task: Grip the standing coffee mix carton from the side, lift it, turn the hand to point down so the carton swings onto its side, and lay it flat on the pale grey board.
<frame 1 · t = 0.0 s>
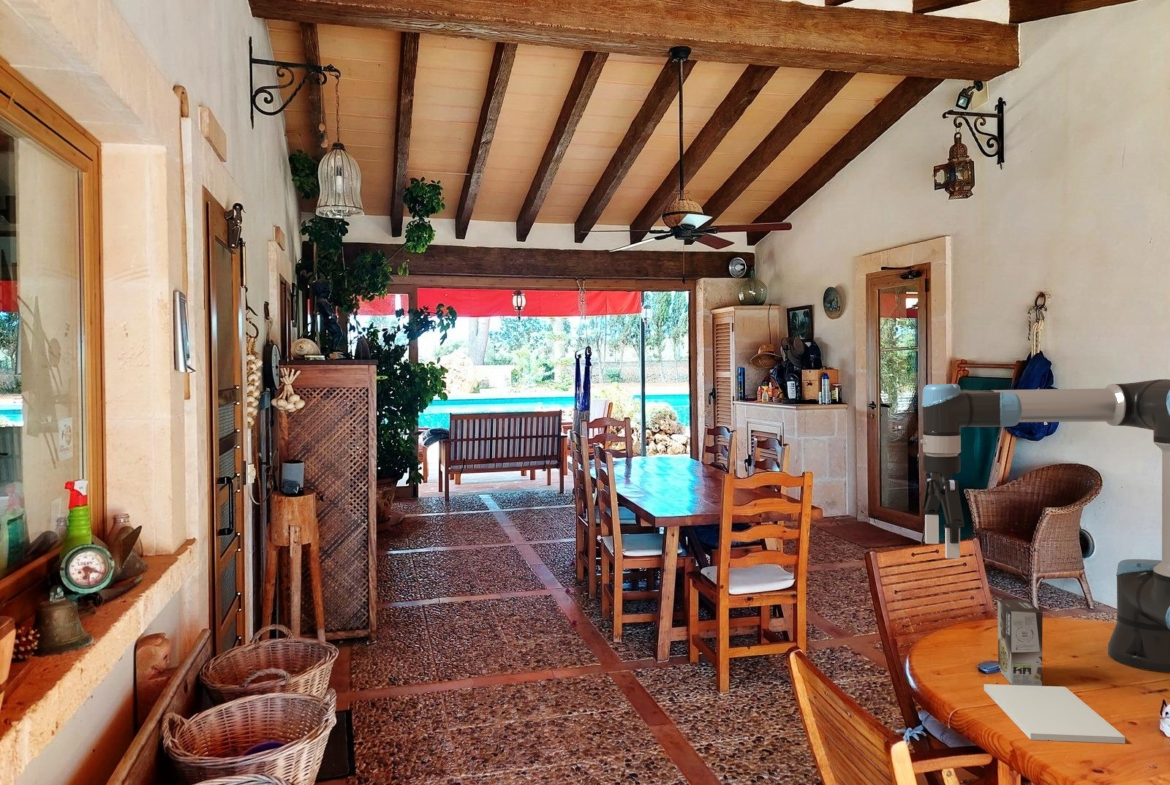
hand: (941, 550, 169), 28 cm above the table, tool pointing down, fingers open, 13 cm apart
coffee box: (1019, 679, 168), on the table
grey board: (1048, 714, 150), on the table
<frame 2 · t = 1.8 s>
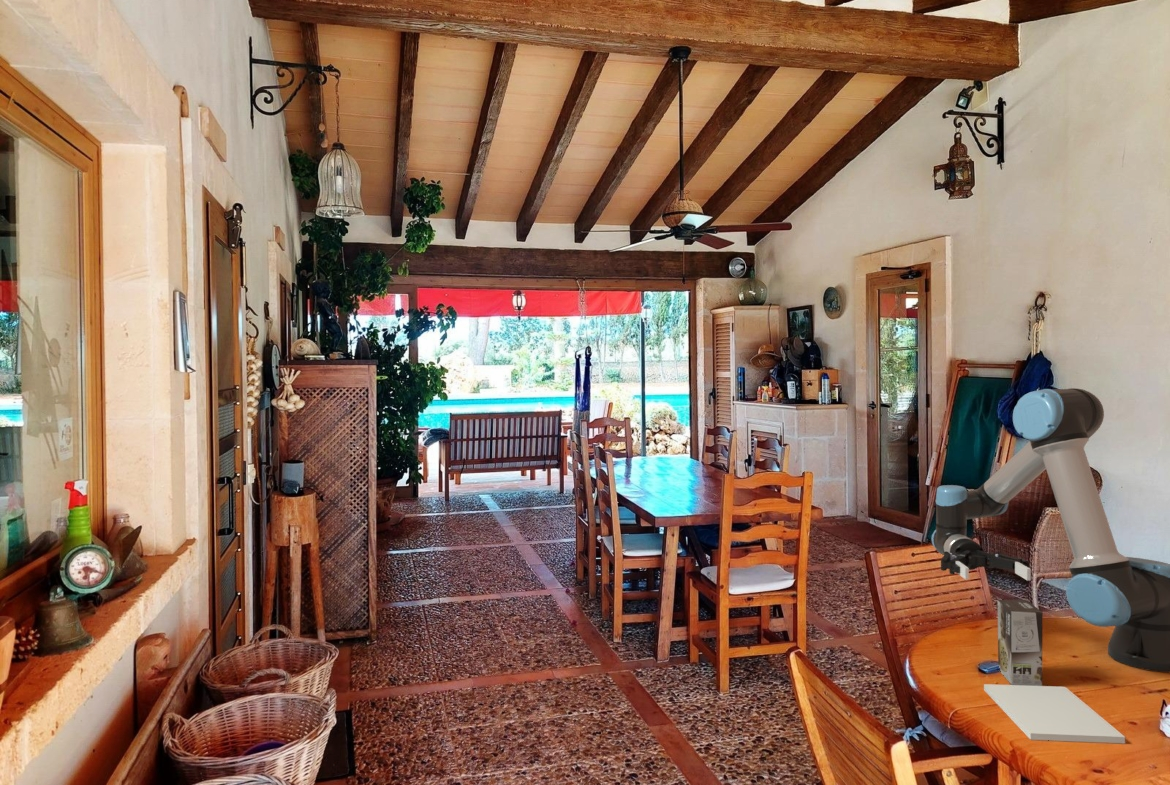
hand: (997, 574, 179), 20 cm above the table, tool horizontal, fingers open, 13 cm apart
nothing on the table moved.
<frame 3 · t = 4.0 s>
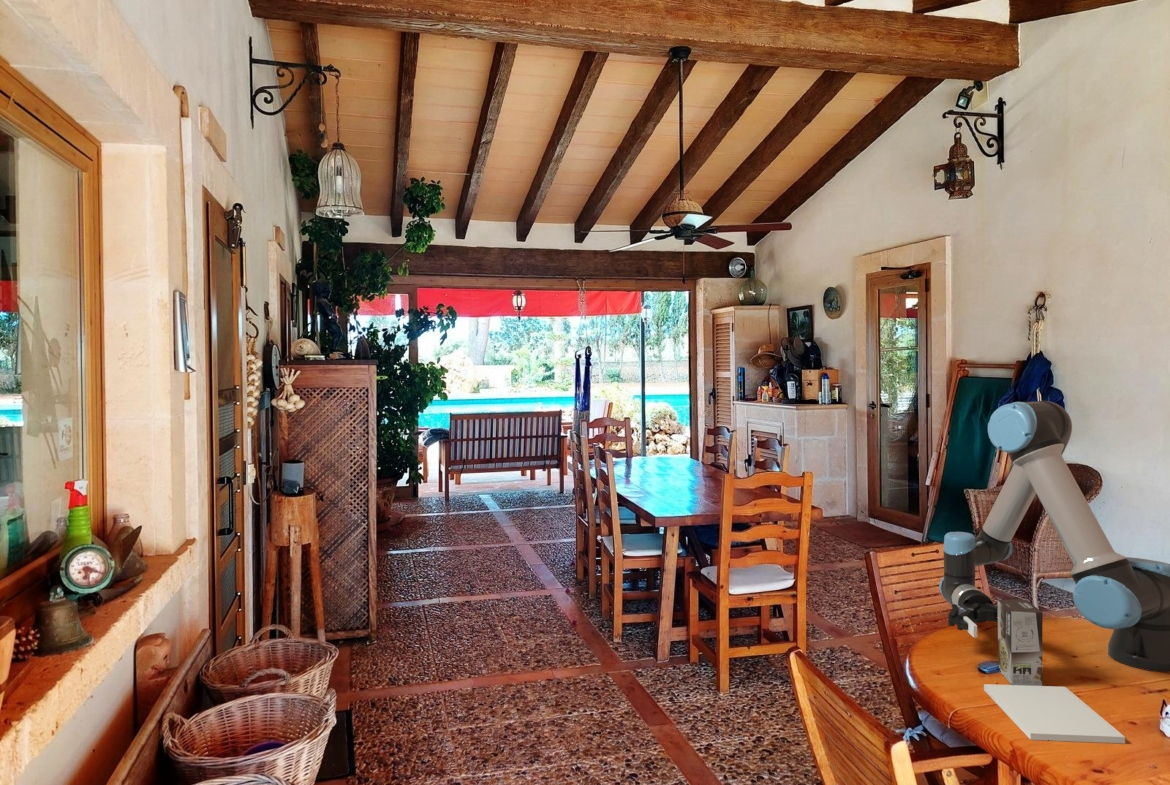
hand: (1007, 632, 172), 8 cm above the table, tool horizontal, fingers open, 13 cm apart
nothing on the table moved.
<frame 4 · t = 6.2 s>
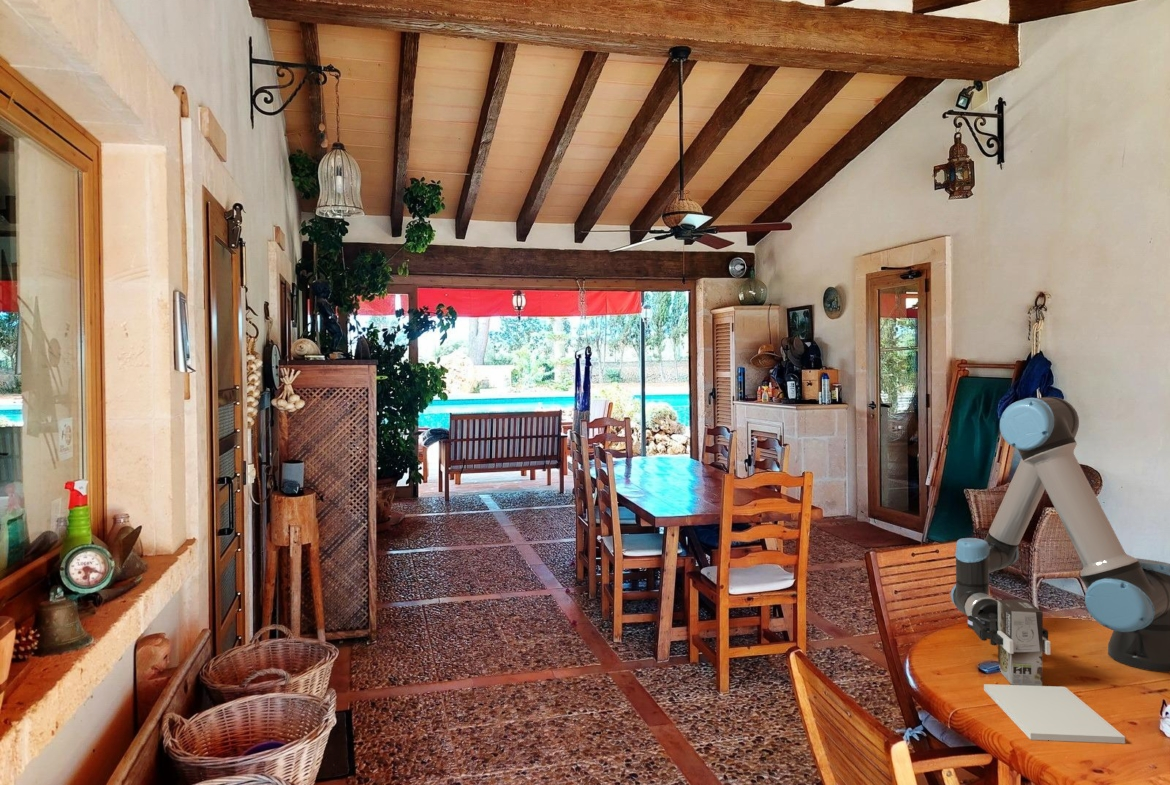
hand: (1029, 647, 163), 9 cm above the table, tool horizontal, fingers closed on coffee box, 7 cm apart
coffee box: (1019, 679, 168), on the table, touching gripper
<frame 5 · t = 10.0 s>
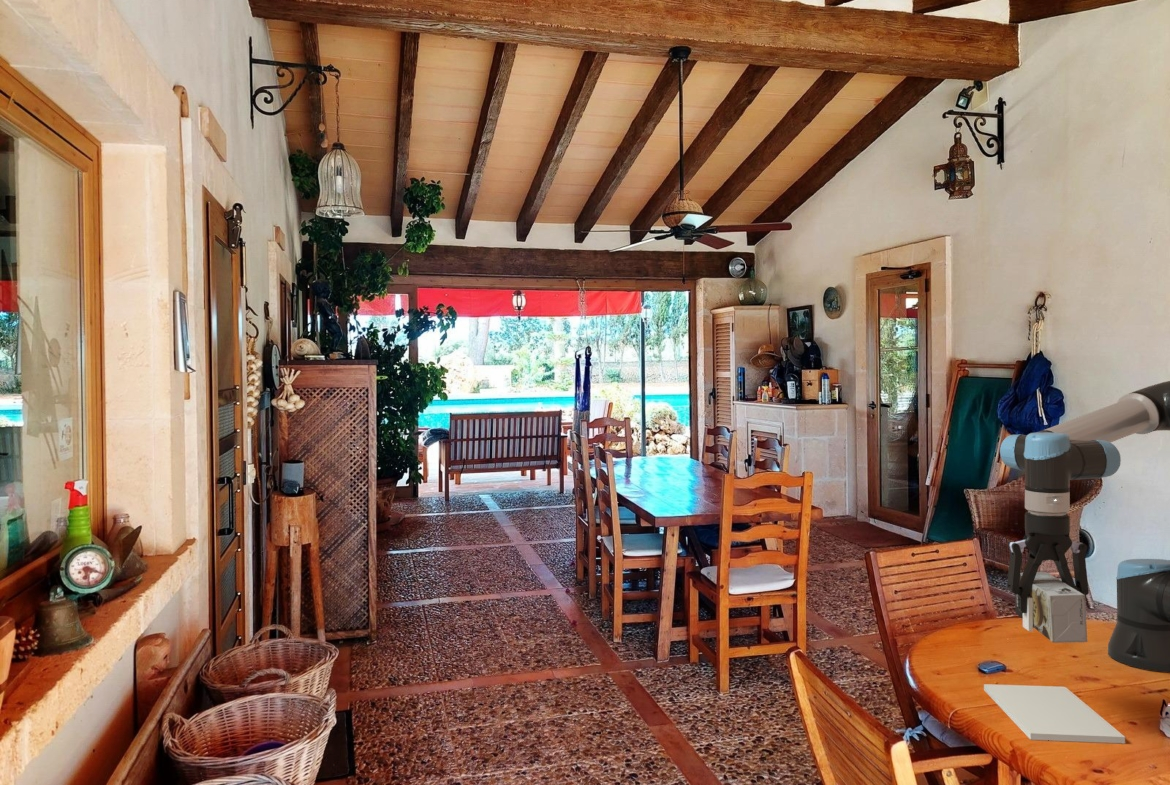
hand: (1047, 629, 150), 17 cm above the table, tool pointing down, fingers closed on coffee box, 6 cm apart
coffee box: (1069, 618, 141), point 22 cm above the table, touching gripper
when the fingers open (2 cm above the table, at t = 12.7 s): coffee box drops 2 cm, resting on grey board.
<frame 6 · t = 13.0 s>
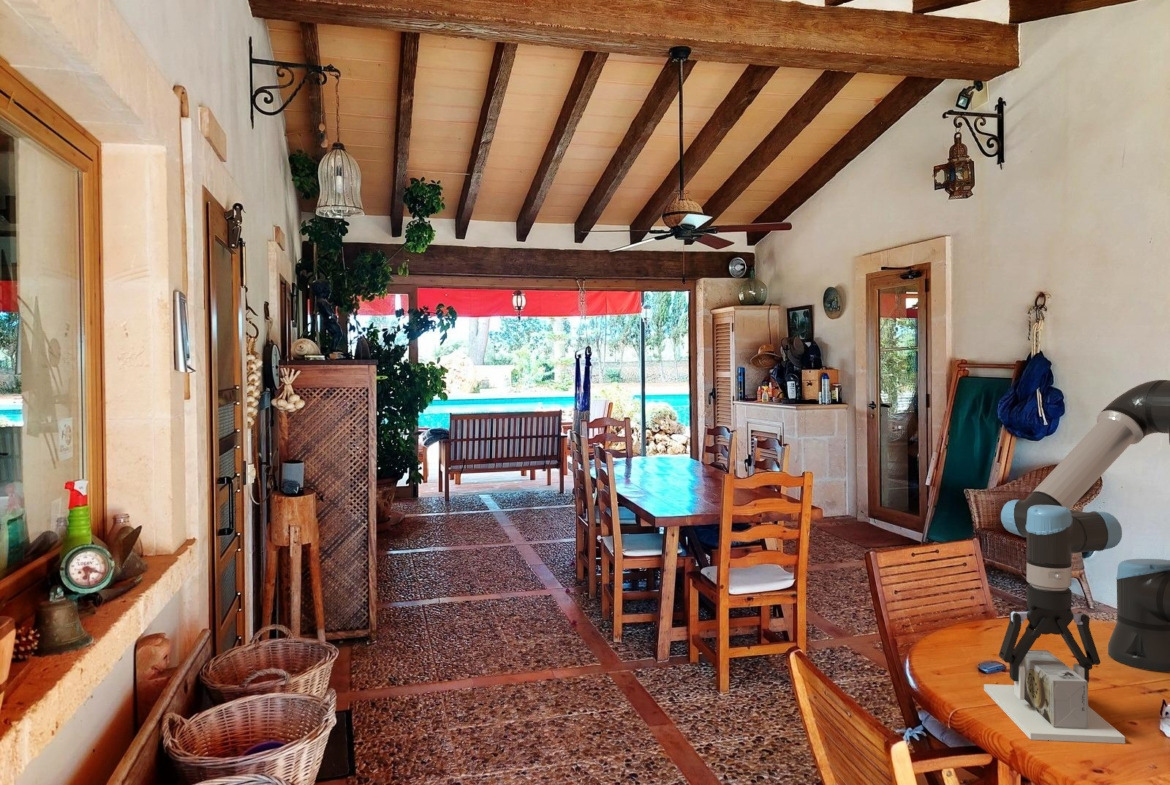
hand: (1048, 698, 150), 3 cm above the table, tool pointing down, fingers open, 10 cm apart
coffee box: (1071, 704, 142), point 6 cm above the table, touching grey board
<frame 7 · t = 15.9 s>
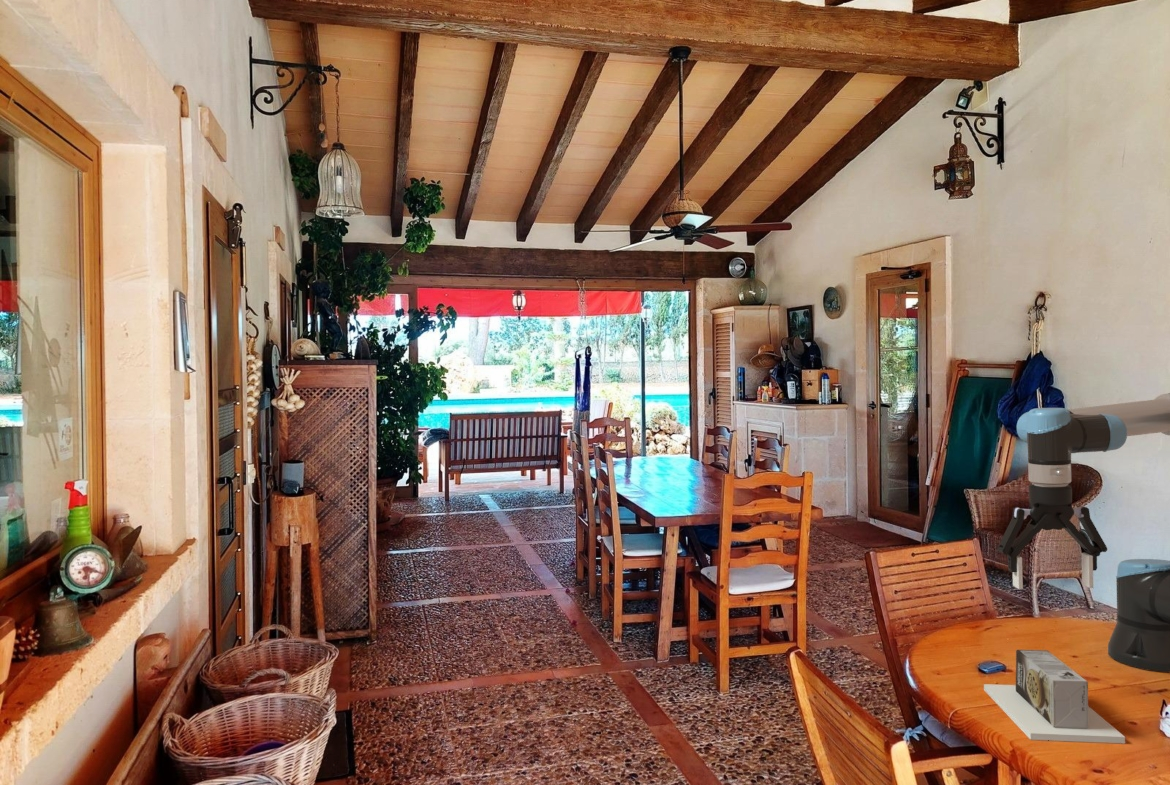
hand: (1052, 586, 157), 23 cm above the table, tool pointing down, fingers open, 13 cm apart
nothing on the table moved.
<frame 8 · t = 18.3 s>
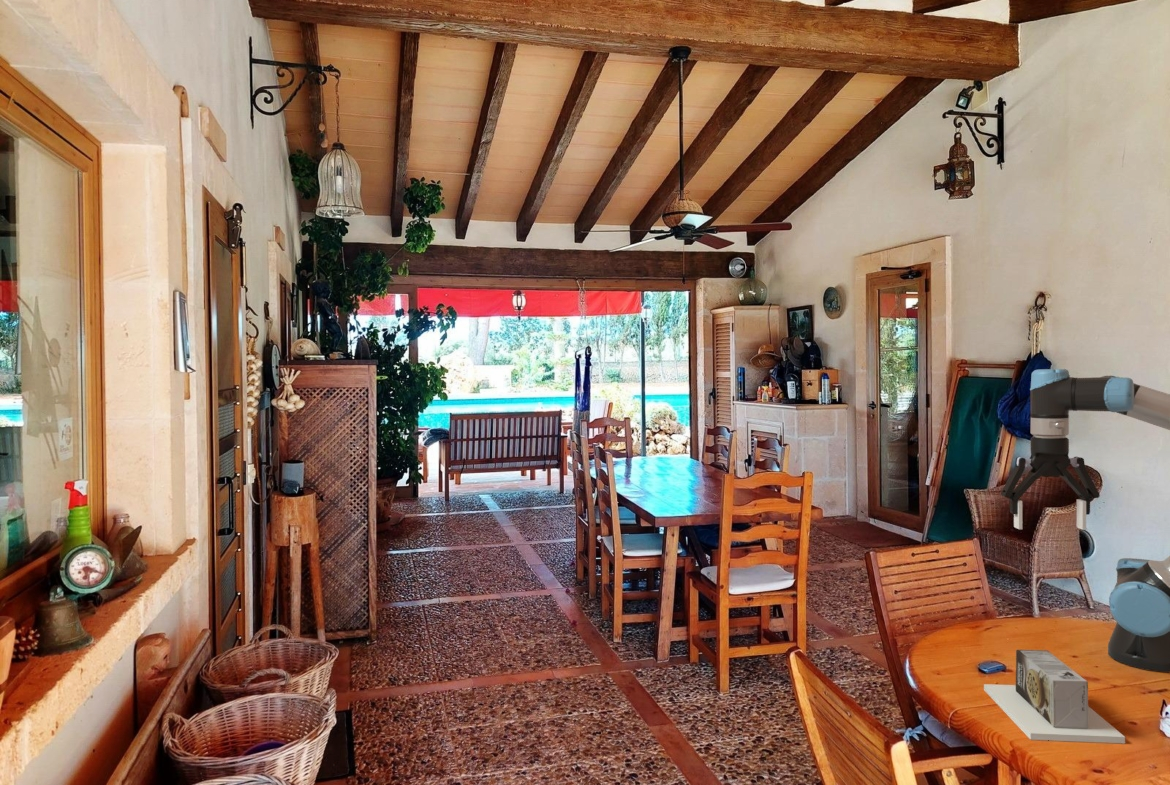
hand: (1049, 528, 177), 31 cm above the table, tool pointing down, fingers open, 13 cm apart
nothing on the table moved.
at the end: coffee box tilted 91°; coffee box inside the target area on the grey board (9.7 cm from its centre), point 5.8 cm above the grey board's base; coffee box touching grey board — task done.
